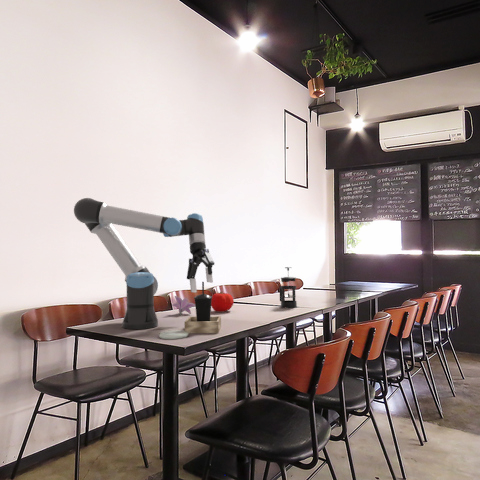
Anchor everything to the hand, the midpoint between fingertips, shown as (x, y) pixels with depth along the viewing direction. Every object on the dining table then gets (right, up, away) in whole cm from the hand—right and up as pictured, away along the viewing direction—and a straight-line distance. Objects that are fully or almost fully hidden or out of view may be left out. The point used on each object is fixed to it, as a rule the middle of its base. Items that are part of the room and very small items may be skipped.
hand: (201, 287), depth 186 cm
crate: (+2, -16, -14) cm, 22 cm away
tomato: (+8, -18, +38) cm, 43 cm away
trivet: (-8, -16, -26) cm, 32 cm away
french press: (+45, -18, +53) cm, 72 cm away
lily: (-12, -18, +30) cm, 37 cm away
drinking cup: (+2, -16, -14) cm, 22 cm away
